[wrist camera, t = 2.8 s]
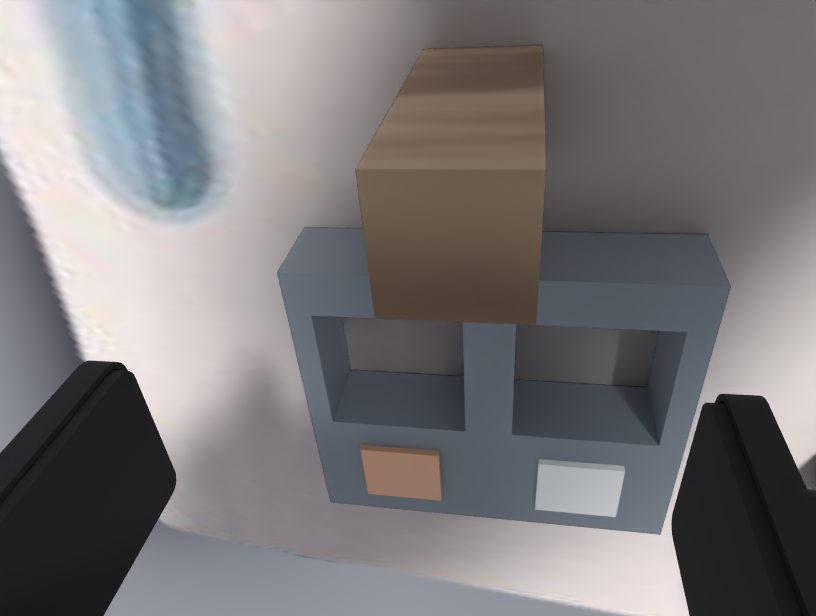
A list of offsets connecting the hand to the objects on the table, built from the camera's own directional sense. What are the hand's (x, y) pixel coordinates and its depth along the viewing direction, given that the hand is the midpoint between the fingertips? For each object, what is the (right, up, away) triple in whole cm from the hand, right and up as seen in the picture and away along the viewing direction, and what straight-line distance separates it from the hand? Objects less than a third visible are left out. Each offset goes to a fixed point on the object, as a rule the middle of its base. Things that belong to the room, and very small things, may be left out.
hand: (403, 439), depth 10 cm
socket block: (+4, 0, +19) cm, 19 cm away
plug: (+3, +9, +12) cm, 15 cm away
